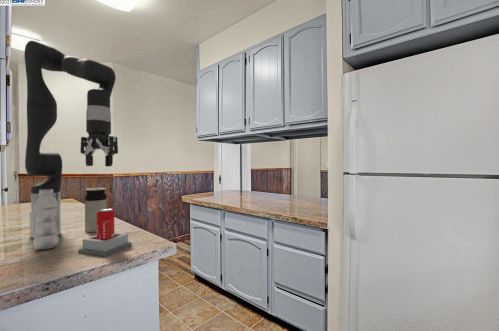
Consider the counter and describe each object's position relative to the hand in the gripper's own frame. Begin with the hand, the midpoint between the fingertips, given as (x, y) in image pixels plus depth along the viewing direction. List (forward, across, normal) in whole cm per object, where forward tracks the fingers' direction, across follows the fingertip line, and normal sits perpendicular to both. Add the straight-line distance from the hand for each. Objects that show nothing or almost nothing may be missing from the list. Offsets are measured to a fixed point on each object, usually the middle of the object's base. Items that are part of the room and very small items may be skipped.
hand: (99, 166), depth 90 cm
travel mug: (+28, -18, +15) cm, 37 cm away
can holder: (+28, +6, -3) cm, 29 cm away
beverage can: (+27, +6, -3) cm, 28 cm away
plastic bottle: (+28, -13, -8) cm, 32 cm away
